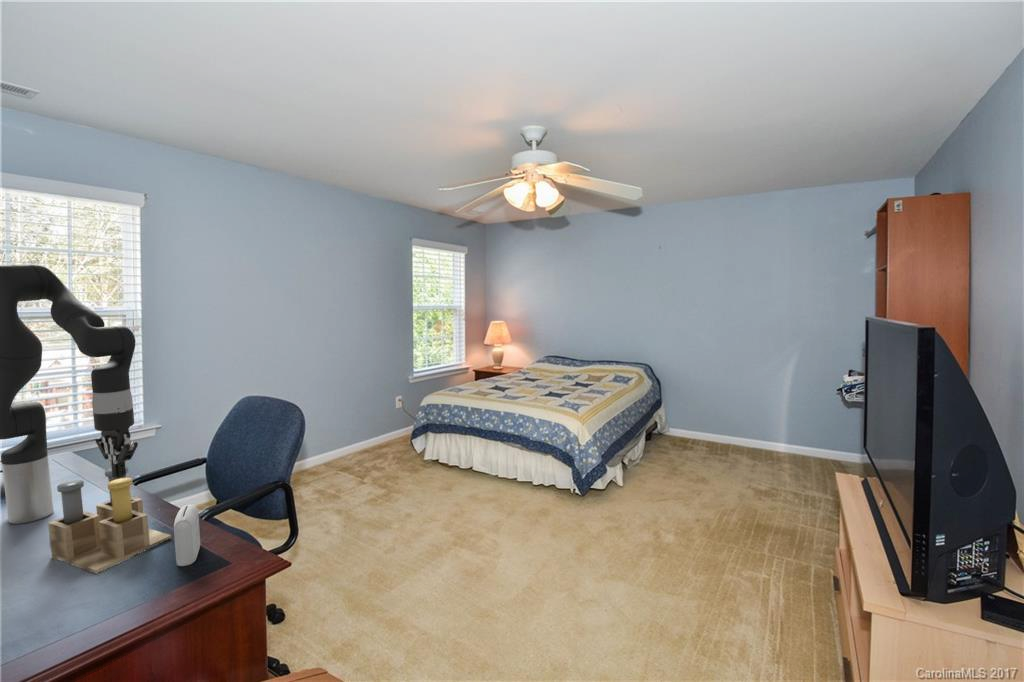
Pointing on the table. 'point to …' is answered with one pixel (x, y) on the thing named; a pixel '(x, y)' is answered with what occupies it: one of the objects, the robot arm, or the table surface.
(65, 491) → the grey plug
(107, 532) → the board
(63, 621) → the table surface
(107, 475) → the grey plug
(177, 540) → the photo printer
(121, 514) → the ochre plug
